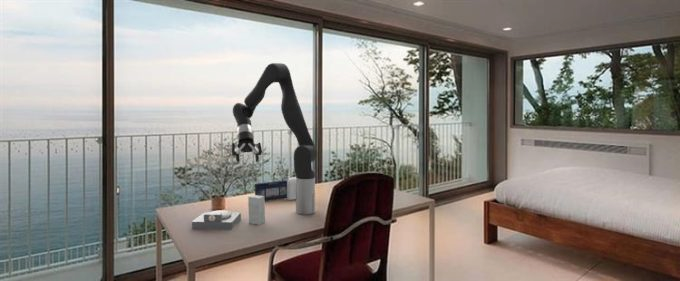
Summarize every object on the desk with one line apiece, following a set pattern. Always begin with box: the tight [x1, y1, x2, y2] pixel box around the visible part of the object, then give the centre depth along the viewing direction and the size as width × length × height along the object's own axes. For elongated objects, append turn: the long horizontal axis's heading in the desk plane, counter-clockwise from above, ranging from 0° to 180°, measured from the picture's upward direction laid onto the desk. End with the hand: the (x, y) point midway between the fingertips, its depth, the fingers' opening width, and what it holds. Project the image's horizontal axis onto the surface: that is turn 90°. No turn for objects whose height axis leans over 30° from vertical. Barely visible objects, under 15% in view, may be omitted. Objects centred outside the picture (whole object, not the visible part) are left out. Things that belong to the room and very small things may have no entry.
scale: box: [191, 209, 242, 230], centre depth 168 cm, size 17×14×6 cm
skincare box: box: [247, 194, 266, 225], centre depth 170 cm, size 6×4×12 cm
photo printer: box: [286, 176, 296, 201], centre depth 212 cm, size 10×4×12 cm, turn 123°
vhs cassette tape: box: [254, 179, 288, 202], centre depth 209 cm, size 18×3×10 cm, turn 120°
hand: (247, 161), depth 183 cm, fingers open, 8 cm apart
